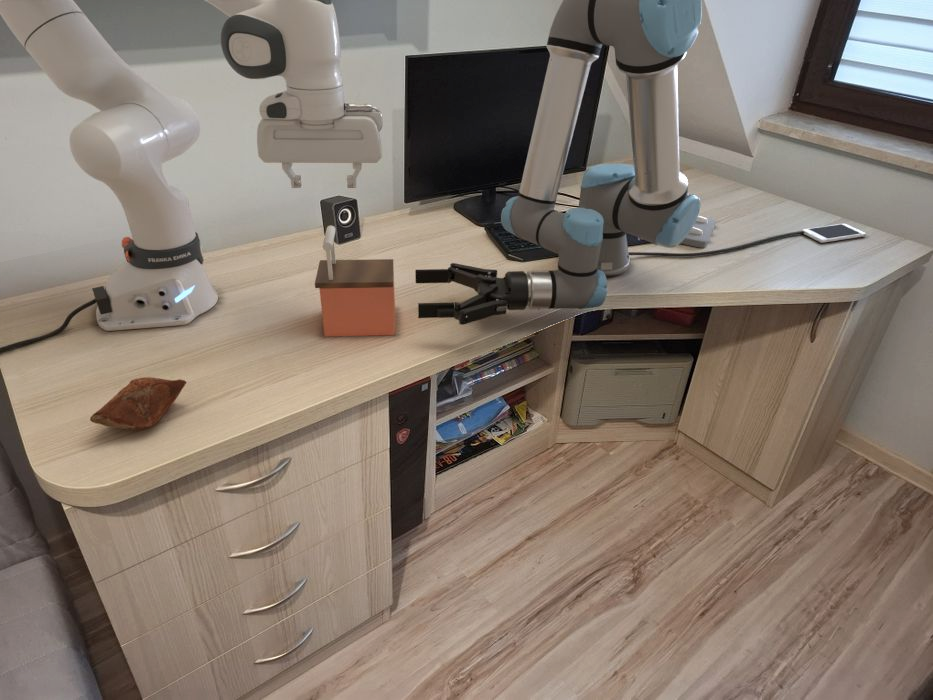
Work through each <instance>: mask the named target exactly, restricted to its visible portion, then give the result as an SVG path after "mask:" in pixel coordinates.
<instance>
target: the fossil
mask: <svg viewBox="0 0 933 700" xmlns="http://www.w3.org/2000/svg"><path fill="white" fill-rule="evenodd" d="M187 382H188V381H186V380H185V379H179V378H178V379H174V380H173V379H164V378H158V377H150V376H147V377H145V376H144V377H139V378H134V379H131V380H130V381H129V383H128V384H127V385H126V386H124V387H123V388H122V389H120V390H119V391H118V392H117V393H116V394H115V395H114V396H113V397H112V398H111V399H110V400H108V401H107V403H105V404H104V405H103V406H102V407H101V408H99V409H98V410H97V411H95V412H94V413H93V414H92V415H91V416H90V418H89V421H90V422H92V423H94V424H97V425H101V426H104V427H110V428H115V429H124V430H130V431H131V430H145V429H148V428H150V427H152V426H154V425H156V424H157V423H158V422H159V421H160V420H161V418H162V417H163V416H164V415H165V414H166V413H167V412H168V410H169V409H170V408H171V407H172V405H173V404H174V402H175V401H176V400H177V398H178V397H179V395H180V393H181V392H182V391H183V389H184V387H185V386H186V384H187Z"/></svg>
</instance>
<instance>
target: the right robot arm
mask: <svg viewBox="0 0 933 700" xmlns="http://www.w3.org/2000/svg"><path fill="white" fill-rule="evenodd" d="M702 15H703V1H702V0H562V1H561V3H560V5H559V7H558V9H557V11H556V13H555V15H554V18H553V20H552V23H551V26H550V29H549V33H548V38H547V42H546V46H545V47H546V49H547V50H548V52H549V59H548V63H547V66H546V67H547V68H546V72H545V76H544V81H543V85H542V90H541V93H540V98H539V103H538V107H537V112H536V116H535V120H534V125H533V129H532V133H531V139H530V142H529V147H528V151H527V157H526V160H525V165H524V169H523V174H522V178H521V182H520V186H519V189H518V190H519V191H518V194H517V196H513V197H510V198H509V199H508V200H507V201H506V202H505V206H504V207H503V208H502V210H501V214H500V223H501V226H502V228H503V229H504V230H505V231H506V232H508V233H510V234H511V235H514V236H516V237H517V238H518V239H521V240H523V241H526V242H529V243H532V244H534V245H536V246H539V247H541V248H542V249H545V250H547V251H550V252H552V253H554V254H556V255H558V261H557V269H555V270H554V269H553V270H547V269H545V270H527V272H525V271H524V270H509V271H506V272H505V274H504V277H498V270H497V269H489V268H488V269H487V268H481V267H477V266H471V265H467V264H466V265H465V264H461V263H456V262H451V263H450V266H449V267H447V268H436V269H434V268H433V269H431V268H430V269H428V268H427V269H415V271H414V272H415V275H414V276H415V277H414V278H415V284H450V283H452V282H453V283H456V284H459V285H462V286H464V287H468V288H470V289H473V290H474V291H475V292H476V293H477V295H474V296H472V297H470V298H467V299H465V300H464V301H462V302H460V303H459V302H456V301H455V302H453V301H452V302H419V303H417V310H418V311H417V316H418V319H437V318H438V319H445V318H446V319H448V318H449V319H450V318H451V319H452V318H454V319H455V320H457V321H458V324H459V325H462V326H463V325H467V324H471V323H473V322H477V321H481V320H483V319H486V318H491V317H493V316H499V315H506V314H507V310H508V311H524V310H525V309H526V308H527V309H528V310H537V311H540V310H552V309H553V310H563V309H568V310H569V309H579V310H583V309H591V308H592V309H593V308H599V307H602V306H603V304H604V303H605V301H606V299H607V295H608V288H607V287H608V280H607V278H608V277H615V276H618V275H621V274H623V273H625V272H626V271H627V270H628V269H629V265H630V259H631V258H630V256H656V257H657V256H659V257H697V256H706V255H713V254H720V253H724V252H725V253H726V252H729V251H735V250H739V249H743V248H747V247H750V246H754V245H757V244H758V245H759V244H761V243H766V242H769V241H771V240H776V239H779V238H780V239H781V238H784V237H789V236H796V235H802V234H803V233H804V231H802V230H799V231H793V232H787V233H782V234H778V235H774V236H770V237H765V238H763V239H759V240H755V241H752V242H748V243H744V244H740V245H735V246H732V247H731V246H730V247H727V248H722V249H716V250H715V249H714V250H709V251H702V252H690V253H689V252H685V253H684V252H683V253H682V252H679V253H677V252H675V253H673V252H648V251H647V252H644V251H643V252H639V251H636V252H635V251H629V245H628V240H627V234H629V235H630V236H633V237H636V238H638V239H641V240H644V241H646V242H649V243H651V244H653V245H655V246H661V247H665V248H667V249H668V248H671V249H672V248H674V247H677V246H678V245H680V243H681V242H682V241H683V240H684V239H685V238H686V236H687V235H688V234H689V232H690V231H691V229H692V227H693V226H694V224H695V222H696V220H697V217H698V216H699V215H700V210H701V204H702V203H701V199H700V197H699V196H696V194H694V193H689V182H688V178H687V177H686V174H684V173H683V172H681V171H680V131H679V127H680V126H679V89H678V87H679V85H678V83H679V82H678V65H679V64H680V63H681V62H682V61H683V60H684V59H685V57H686V55H687V52H688V51H689V50H690V49H691V48H692V46H693V45H694V43H695V41H696V39H697V37H698V34H699V29H698V27H699V26H700V25H701V24H702V17H703V16H702ZM603 45H605V46H610V47H613V49H614V56H615V65H616V67H617V69H618V70H619V71H620V72H622V73H623V74H625V78H626V79H625V80H626V89H627V91H626V92H627V102H628V112H629V114H628V115H629V124H630V125H629V126H630V137H631V148H632V150H631V151H632V160H633V162H632V163H633V165H632V164H628V163H617V162H616V163H615V162H613V163H601V164H596V165H592V166H589V167H588V168H586V170H585V171H584V172H583V176H582V180H581V185H580V186H579V187H580V193H579V201H578V207H574V208H570V209H568V210H566V211H565V213H563V212H561V211H558V210H556V209H555V207H556V202H557V197H558V194H559V191H560V187H561V182H562V178H563V175H564V171H565V167H566V163H567V159H568V155H569V152H570V148H571V145H572V141H573V140H572V139H573V136H574V133H575V132H574V131H575V129H576V124H577V121H578V116H579V113H580V109H581V105H582V101H583V97H584V92H585V89H586V86H587V81H588V77H589V73H590V71H591V66H592V64H593V63H594V62H595V61H597V60H598V59H599V57H600V55H601V54H600V53H601V50H602V47H603ZM803 235H804V234H803Z"/></svg>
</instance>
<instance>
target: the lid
mask: <svg viewBox="0 0 933 700" xmlns="http://www.w3.org/2000/svg"><path fill="white" fill-rule="evenodd" d="M336 230H337V229H336V227H335V226H334V225H333V224H332V225H328V226H327V227H326V231H325V234H324V239H323V241H322V242H323V243H322V248H323V250H324V251H325V254H326V260H325V259H320V260H319V261H318V267H317V271H316V275H315V280H314V288H315V289H319V288H357V287H393V266H394V259H393V258H389V259H388V258H384V259H383V258H382V259H381V258H379V259H375V258H374V259H336V247H335V235H336Z"/></svg>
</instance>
